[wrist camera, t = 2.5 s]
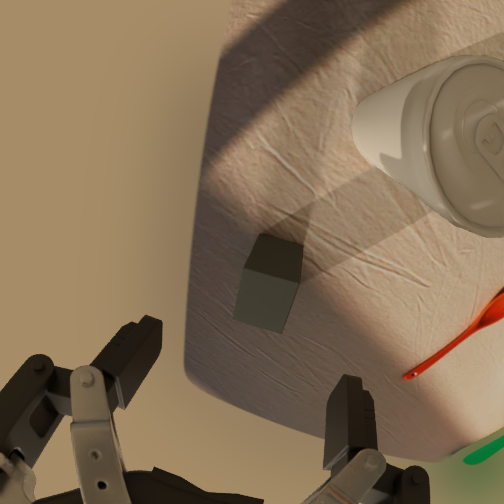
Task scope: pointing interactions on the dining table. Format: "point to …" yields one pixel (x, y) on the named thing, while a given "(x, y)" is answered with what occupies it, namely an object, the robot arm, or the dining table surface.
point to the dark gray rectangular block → (269, 283)
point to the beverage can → (443, 139)
